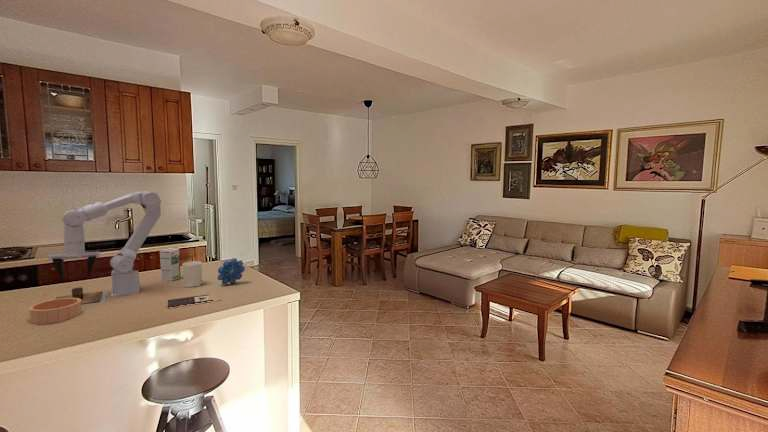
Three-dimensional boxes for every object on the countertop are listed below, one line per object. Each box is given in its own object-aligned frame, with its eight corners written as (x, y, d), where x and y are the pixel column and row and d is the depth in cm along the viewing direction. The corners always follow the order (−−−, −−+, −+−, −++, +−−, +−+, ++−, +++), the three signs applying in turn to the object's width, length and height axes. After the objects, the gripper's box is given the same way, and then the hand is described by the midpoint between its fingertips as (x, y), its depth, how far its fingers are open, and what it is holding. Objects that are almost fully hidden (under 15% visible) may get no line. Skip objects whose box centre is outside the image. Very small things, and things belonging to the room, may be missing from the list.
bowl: (83, 307, 130) (83, 295, 129) (79, 318, 119) (78, 305, 119) (34, 314, 122) (33, 301, 122) (25, 327, 112) (24, 313, 111)
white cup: (189, 288, 154) (188, 266, 153) (179, 285, 158) (178, 263, 157) (206, 284, 161) (205, 262, 160) (196, 281, 165) (195, 260, 164)
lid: (102, 292, 146) (101, 281, 145) (100, 302, 134) (99, 290, 134) (56, 298, 138) (55, 287, 137) (49, 309, 126) (48, 296, 126)
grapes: (243, 280, 168) (242, 255, 167) (246, 283, 162) (245, 258, 161) (216, 283, 162) (215, 257, 161) (218, 287, 156) (217, 260, 155)
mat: (107, 291, 148) (107, 291, 148) (104, 303, 134) (104, 302, 134) (52, 299, 138) (52, 298, 138) (43, 312, 124) (43, 311, 124)
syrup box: (171, 281, 165) (170, 250, 163) (160, 280, 166) (159, 249, 165) (181, 278, 170) (179, 248, 169) (170, 277, 172) (169, 247, 170)
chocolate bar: (167, 300, 138) (218, 293, 147) (167, 302, 138) (218, 295, 147) (168, 307, 130) (221, 299, 139) (168, 309, 130) (221, 301, 140)
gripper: (46, 244, 126) (47, 282, 128) (98, 242, 135) (99, 277, 136) (50, 242, 132) (51, 277, 133) (99, 239, 140) (101, 273, 142)
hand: (76, 277), depth 135 cm, fingers open, 7 cm apart
